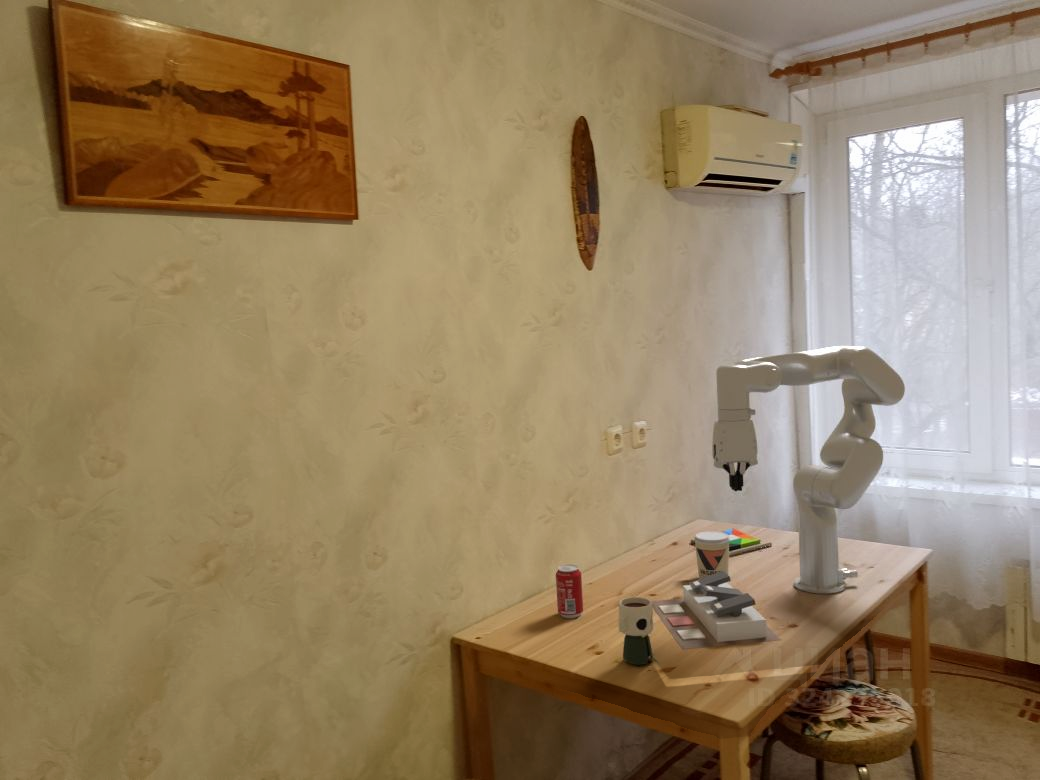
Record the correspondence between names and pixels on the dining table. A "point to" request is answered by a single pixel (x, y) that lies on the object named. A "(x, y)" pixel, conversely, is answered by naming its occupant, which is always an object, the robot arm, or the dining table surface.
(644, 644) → the character mug
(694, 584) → the block
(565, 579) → the beverage can
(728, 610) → the rocker near
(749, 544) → the wooden puzzle
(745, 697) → the dining table surface
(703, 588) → the rocker middle
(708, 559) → the coffee cup
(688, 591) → the switch housing
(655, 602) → the chart board
